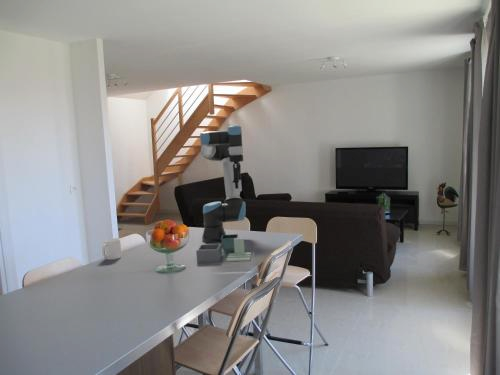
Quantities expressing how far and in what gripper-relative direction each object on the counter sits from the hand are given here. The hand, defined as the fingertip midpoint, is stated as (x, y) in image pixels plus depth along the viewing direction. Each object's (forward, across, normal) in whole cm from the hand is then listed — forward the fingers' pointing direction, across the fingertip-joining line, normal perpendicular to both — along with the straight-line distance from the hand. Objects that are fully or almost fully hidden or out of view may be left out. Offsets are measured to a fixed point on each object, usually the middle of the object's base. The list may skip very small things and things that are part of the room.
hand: (238, 192), depth 226 cm
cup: (+32, +9, -71) cm, 79 cm away
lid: (+31, +21, 0) cm, 37 cm away
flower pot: (+32, +7, -6) cm, 33 cm away
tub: (+31, +21, -15) cm, 41 cm away
